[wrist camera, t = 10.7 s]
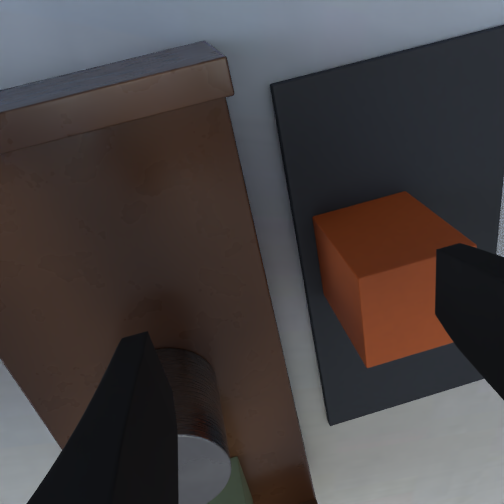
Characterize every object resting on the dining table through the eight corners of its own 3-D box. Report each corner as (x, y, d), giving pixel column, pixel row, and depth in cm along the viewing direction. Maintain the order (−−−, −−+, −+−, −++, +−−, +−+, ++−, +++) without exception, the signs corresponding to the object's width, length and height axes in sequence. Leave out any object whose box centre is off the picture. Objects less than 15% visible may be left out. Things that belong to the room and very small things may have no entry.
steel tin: (131, 434, 21) (127, 532, 17) (95, 365, 19) (80, 460, 15) (226, 406, 21) (243, 495, 18) (202, 334, 19) (215, 419, 15)
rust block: (323, 294, 22) (366, 369, 18) (311, 216, 20) (358, 278, 15) (407, 270, 22) (471, 337, 18) (405, 190, 20) (477, 244, 16)
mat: (327, 421, 27) (329, 426, 27) (269, 84, 17) (272, 85, 17) (480, 374, 28) (484, 378, 28) (512, 22, 18) (518, 23, 18)
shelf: (140, 521, 29) (138, 617, 24) (-108, 116, 15) (-215, 165, 11) (305, 469, 29) (333, 553, 25) (205, 40, 16) (226, 55, 12)
